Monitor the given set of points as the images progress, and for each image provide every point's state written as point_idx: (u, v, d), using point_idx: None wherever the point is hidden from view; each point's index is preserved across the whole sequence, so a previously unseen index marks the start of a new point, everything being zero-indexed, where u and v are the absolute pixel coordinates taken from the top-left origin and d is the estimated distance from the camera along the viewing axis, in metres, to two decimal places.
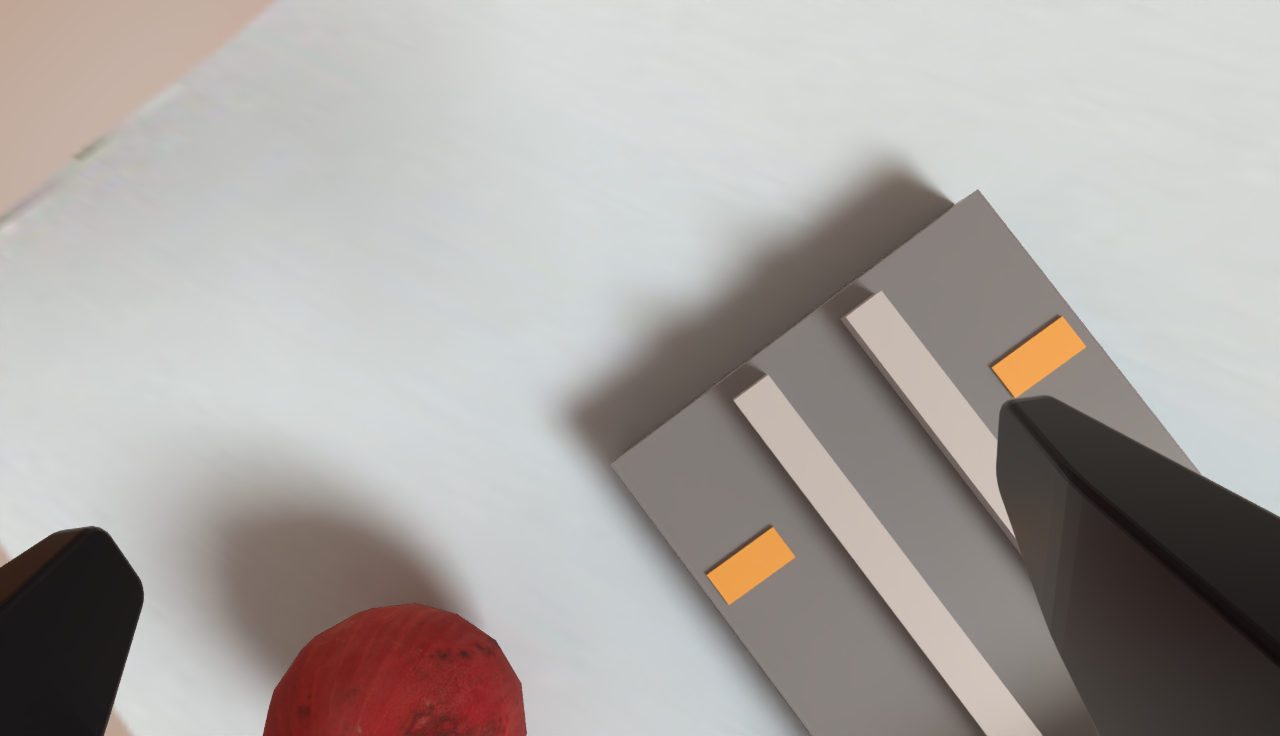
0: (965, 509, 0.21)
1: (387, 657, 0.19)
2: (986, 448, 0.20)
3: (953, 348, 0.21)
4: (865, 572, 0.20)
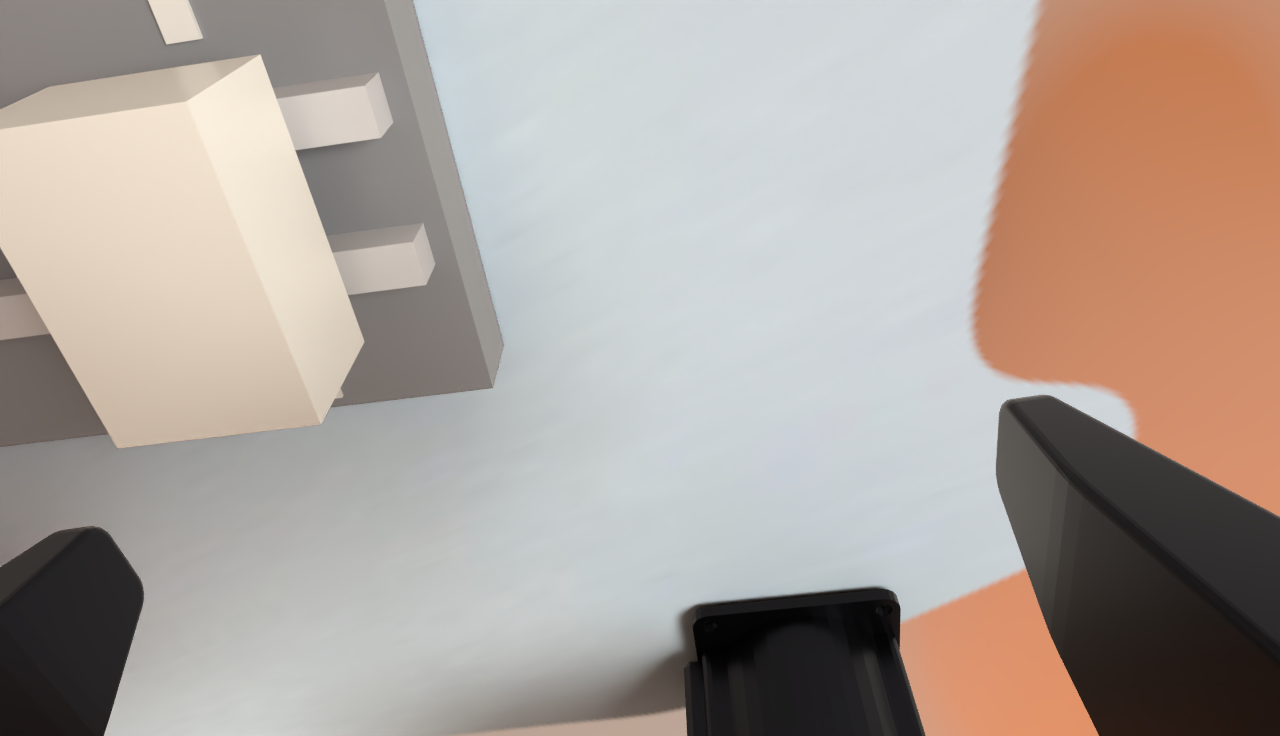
0: None
1: None
2: None
3: None
4: None
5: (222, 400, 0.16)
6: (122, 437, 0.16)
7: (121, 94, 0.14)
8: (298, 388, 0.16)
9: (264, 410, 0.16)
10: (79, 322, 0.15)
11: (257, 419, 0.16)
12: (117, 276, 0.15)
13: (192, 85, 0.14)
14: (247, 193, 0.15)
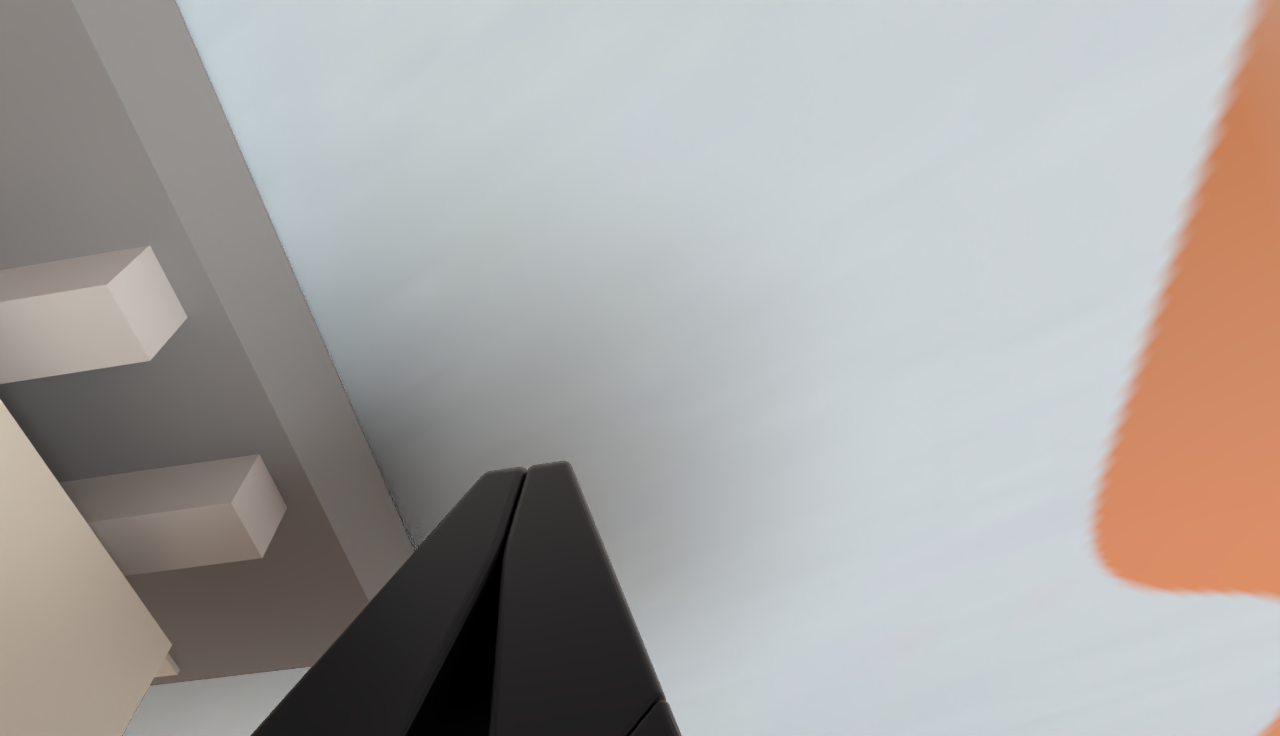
0: None
1: None
2: None
3: None
4: None
5: None
6: None
7: None
8: None
9: None
10: None
11: None
12: None
13: None
14: None
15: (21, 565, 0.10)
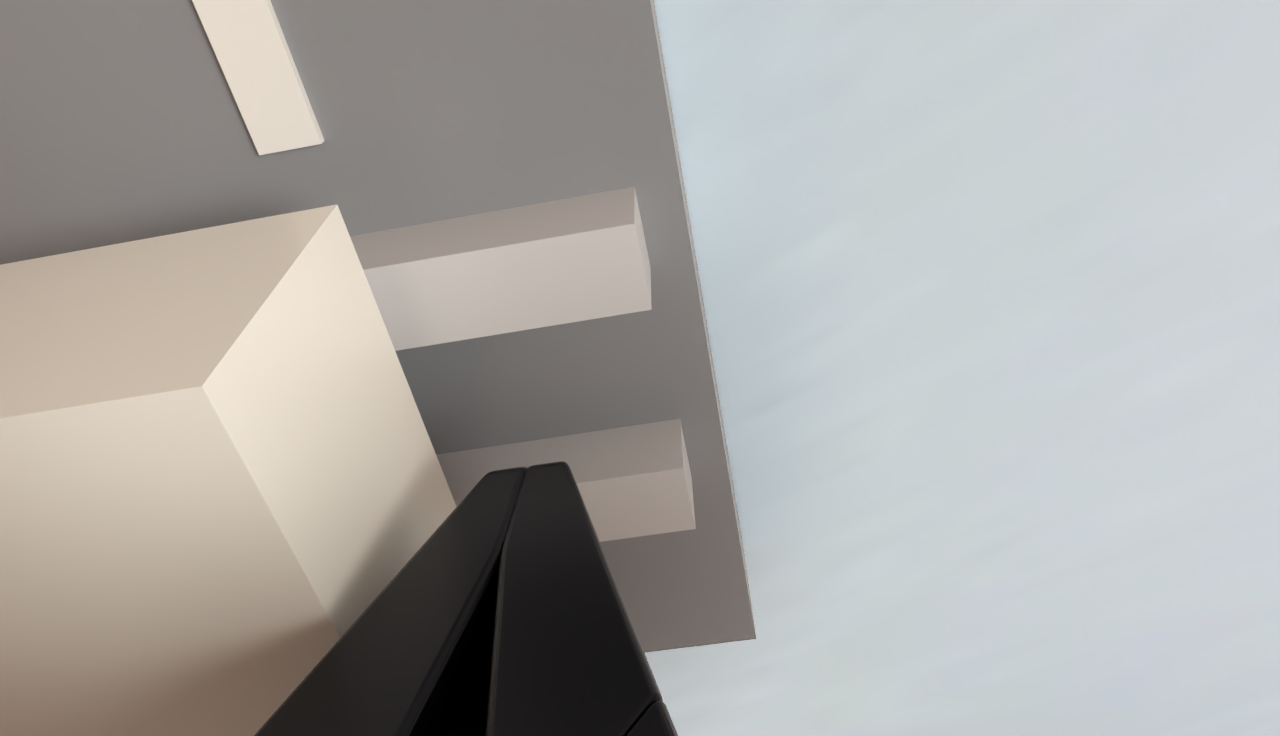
0: None
1: None
2: None
3: None
4: None
5: None
6: None
7: (66, 328, 0.07)
8: None
9: None
10: None
11: None
12: (76, 685, 0.07)
13: (213, 310, 0.07)
14: (332, 511, 0.07)
15: None
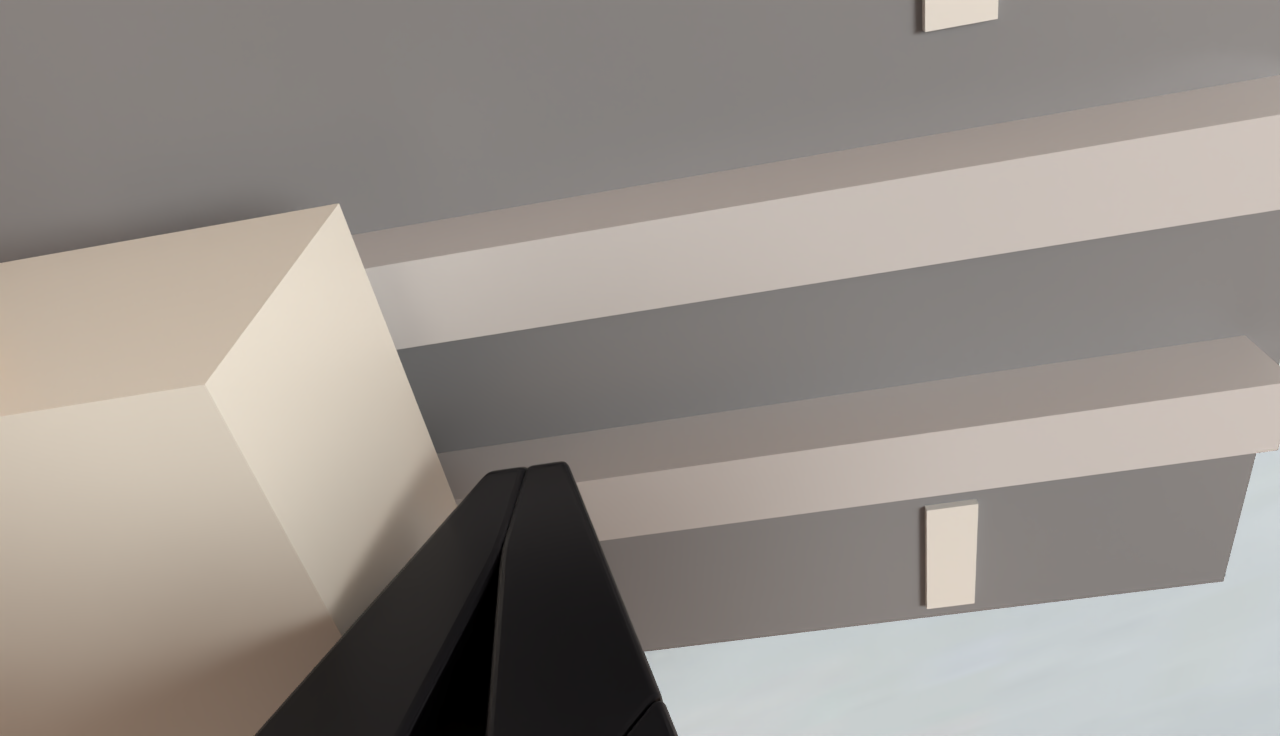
0: None
1: None
2: None
3: None
4: None
5: None
6: None
7: (68, 326, 0.07)
8: None
9: None
10: None
11: None
12: (78, 683, 0.07)
13: (215, 309, 0.07)
14: (333, 511, 0.07)
15: None
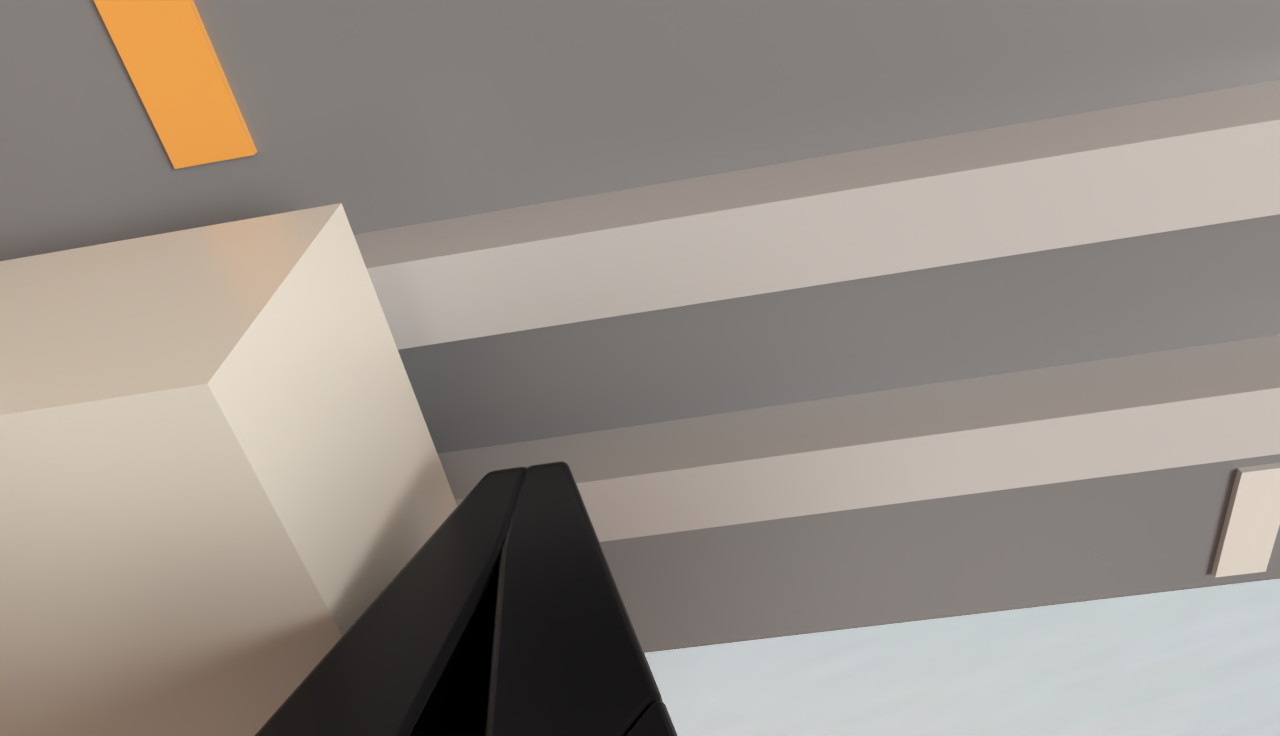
0: None
1: None
2: None
3: (121, 214, 0.10)
4: None
5: None
6: None
7: (70, 325, 0.07)
8: None
9: None
10: None
11: None
12: (77, 681, 0.07)
13: (217, 308, 0.07)
14: (335, 509, 0.07)
15: None
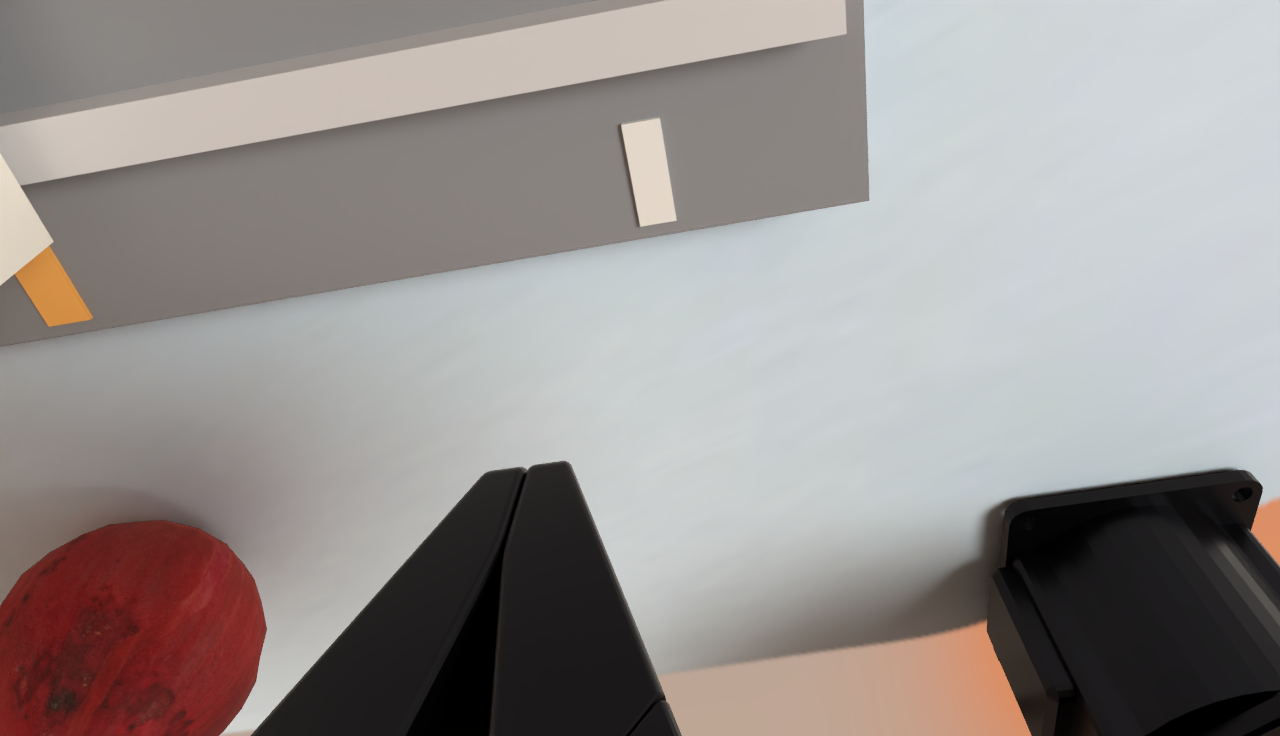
0: None
1: None
2: None
3: None
4: (24, 182, 0.15)
5: None
6: None
7: None
8: None
9: None
10: None
11: None
12: None
13: None
14: None
15: None
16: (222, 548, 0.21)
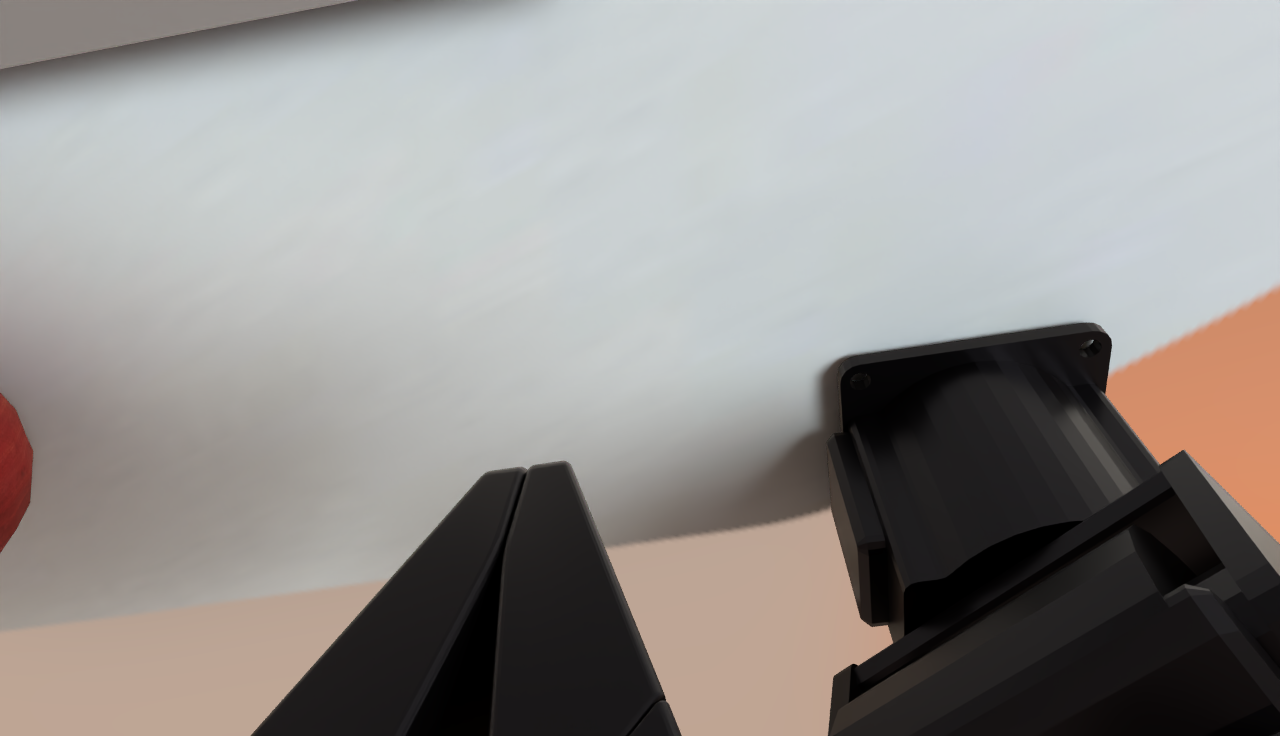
0: None
1: None
2: None
3: None
4: None
5: None
6: None
7: None
8: None
9: None
10: None
11: None
12: None
13: None
14: None
15: None
16: None
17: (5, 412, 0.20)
